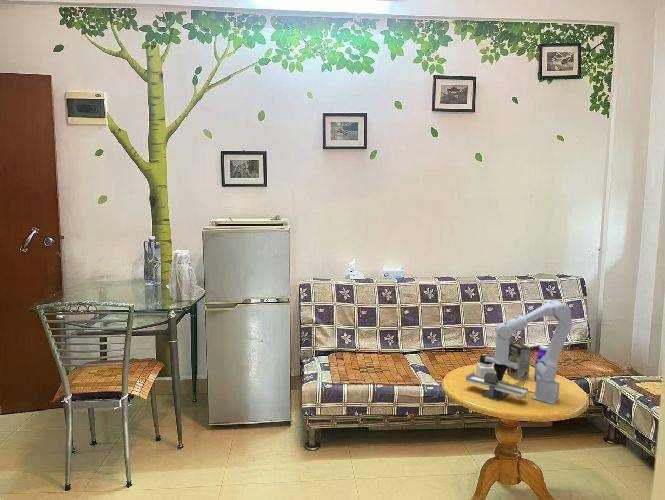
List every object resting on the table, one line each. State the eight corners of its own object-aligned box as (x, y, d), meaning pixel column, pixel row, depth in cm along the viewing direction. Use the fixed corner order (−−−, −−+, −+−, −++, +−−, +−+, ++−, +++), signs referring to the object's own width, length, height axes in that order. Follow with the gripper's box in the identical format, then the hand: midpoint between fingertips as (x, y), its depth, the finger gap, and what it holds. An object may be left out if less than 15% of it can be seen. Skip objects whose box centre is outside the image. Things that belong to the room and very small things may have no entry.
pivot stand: (508, 394, 239) (509, 382, 238) (499, 401, 231) (500, 389, 230) (491, 389, 244) (492, 378, 243) (482, 396, 236) (482, 384, 236)
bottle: (531, 379, 258) (534, 344, 256) (540, 378, 260) (543, 343, 258) (542, 384, 251) (545, 349, 249) (551, 383, 253) (554, 348, 251)
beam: (527, 396, 231) (528, 386, 231) (521, 401, 226) (522, 390, 226) (472, 381, 248) (472, 371, 248) (465, 385, 243) (466, 375, 242)
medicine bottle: (494, 382, 253) (496, 358, 251) (479, 382, 253) (481, 357, 251) (490, 377, 260) (492, 353, 258) (475, 376, 260) (477, 352, 258)
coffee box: (506, 374, 265) (508, 342, 262) (517, 372, 266) (519, 341, 264) (517, 380, 256) (520, 348, 254) (529, 379, 258) (531, 347, 256)
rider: (498, 382, 238) (498, 374, 237) (495, 386, 235) (495, 377, 234) (487, 380, 241) (487, 372, 240) (484, 383, 238) (484, 375, 237)
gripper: (482, 349, 235) (480, 378, 237) (514, 356, 226) (512, 387, 228) (489, 345, 241) (487, 374, 242) (520, 353, 231) (518, 382, 233)
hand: (499, 380), depth 235 cm, fingers closed
